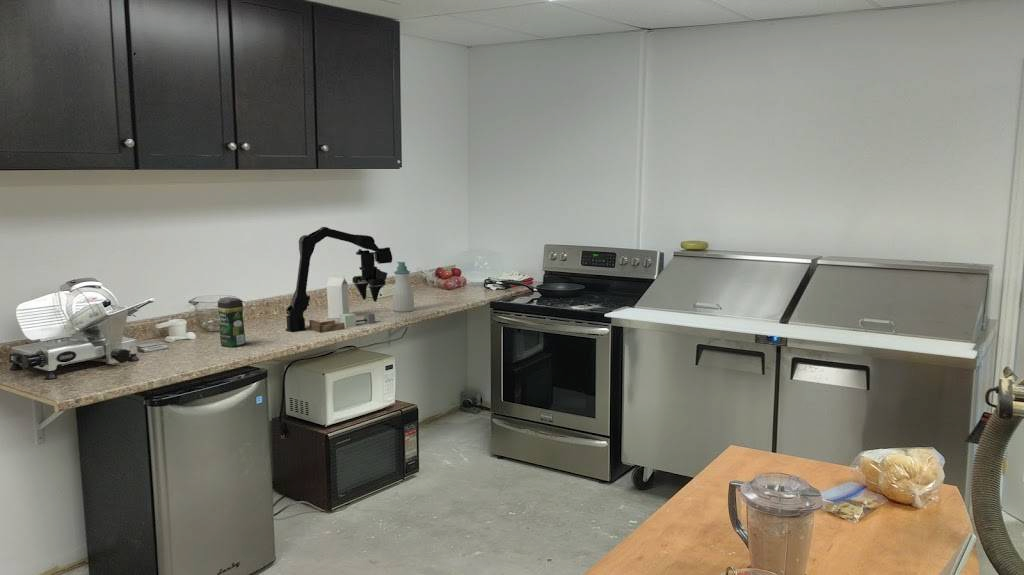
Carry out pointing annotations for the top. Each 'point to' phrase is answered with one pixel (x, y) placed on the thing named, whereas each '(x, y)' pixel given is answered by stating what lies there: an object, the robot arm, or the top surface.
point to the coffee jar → (231, 322)
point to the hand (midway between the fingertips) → (369, 300)
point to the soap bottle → (402, 290)
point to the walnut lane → (325, 326)
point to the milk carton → (337, 296)
